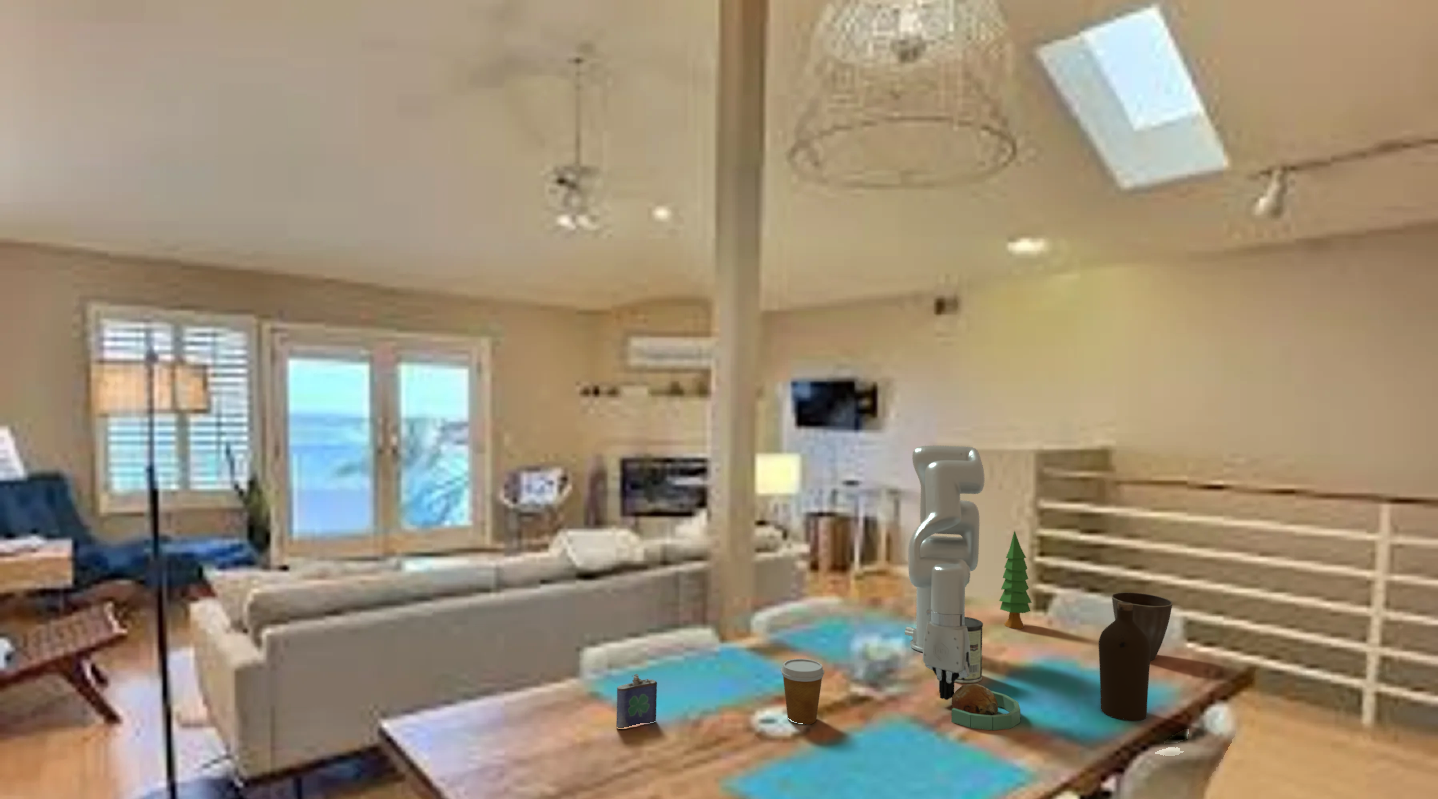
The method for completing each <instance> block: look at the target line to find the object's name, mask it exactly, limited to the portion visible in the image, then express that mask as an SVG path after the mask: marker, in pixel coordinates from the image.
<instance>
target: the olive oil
mask: <svg viewBox="0 0 1438 799" xmlns="http://www.w3.org/2000/svg"><path fill="white" fill-rule="evenodd" d="M1117 606H1118V608H1117V618H1116V620H1115V619H1114V620H1113V622H1111V623H1110V624H1109V625H1108V626H1106V627H1105V628H1104V629H1103V630H1102V631H1101V633H1100V636H1099V638H1098V659H1099V688H1100V689H1099V690H1100V691H1099V694H1100V698H1099V700H1100V710H1101V712H1102V713H1103V714H1104V715H1107V716H1109V717H1111V718H1114V719H1117V720H1123V721H1129V722H1130V721H1131V722H1132V721H1133V722H1134V721H1136V722H1137V721H1143V720H1145V719H1146V718H1147V715H1148V695H1149V692H1148V691H1149V683H1150V682H1149V681H1150V680H1149V679H1150V666H1151V660H1150V656H1151V647H1150V643H1149V640H1148V638H1147V636H1146V635H1145V634H1144V632H1143V631H1142V630H1141V629H1140V628H1139V627H1138V626H1137V625H1136V624H1135V622H1134V621H1133V610H1132V607H1133V604H1132V603H1129V602H1118V603H1117Z"/></svg>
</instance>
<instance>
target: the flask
mask: <svg viewBox="0 0 1438 799" xmlns="http://www.w3.org/2000/svg"><path fill="white" fill-rule="evenodd" d="M639 676H640V675H639V674H638V673H634V674H633V675H631V677H632V678H633V680H632V682H630V683H625V684H621V685H618V686H617V687H616V728H617V727H618V728H624V727H629V726H632V725H636V724H640V723H650V722H654V721H656V722H657V697H658V696H657V693H658V689H657V688H658V682H657V680H654V679H650V678H645V679H641V678H640V677H639Z"/></svg>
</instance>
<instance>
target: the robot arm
mask: <svg viewBox="0 0 1438 799" xmlns="http://www.w3.org/2000/svg"><path fill="white" fill-rule="evenodd" d="M911 460H912V465H913V468H914V471H915V473H916V475H917V477H918V480H919V484H920V503H919V504H920V505H919V506H920V507H919V509H920V512H919V520H920V524H919V525H918V526H917V527H916V528H915V530H914V531H913V533H912V535H911V537H910V540H909V544H908V578H909V581H910V583H911V585H913V586H914V587H915V588H916V613H915V616H916V617H915V618H916V620H915V621H916V623H915V628H914V627H910V626H906V627H905V630H904V635H905V636H908V637H910V636H911V637H912V639H911V640H910V642H909V645H910V648H912V649H913V650H915V651H917V652H922V661H923V663H924V666H925V667H926V668H927V669H930V670H932V671H933V673H934V674H935V676H936V680H938V682H939V683H938V693H939V698H940V699H943V700H945V701H948V700H950V699H952V696H953V694H954V693H955V682H954V681H955V680H957V679H958V678H966V677H968V676H969V675H970V674H969V669H968V668H969V667H970V642H969V635H968V630H967V626H964V624H965V617H966V616H965V615H966V614H965V613H966V610H965V607H966V587H967V585H968V584H969V583H970V581H971V572H972V571H974V570H976V568H977V567H978V562H979V554H980V553H979V551H980V550H979V547H980V513H979V508H978V507H977V505H976V503H974V502H973V501H970V500H964V499H963V500H961V494H964V495H965V494H966V495H967V494H970V495H976V494H977V495H978V494H980V493H982V491H983V489H984V487H985V471H984V470H985V469H984V465H983V461H982V460H981V456H980V453H979V451H978V449H976V448H975V447H973V446H962V445H961V446H959V445H958V446H956V445H953V446H951V445H950V446H949V445H921V446H917V447H916V448H914V449H913V451H912V459H911ZM935 534H937V535H935ZM941 534H942V535H941ZM944 535H945V536H944ZM946 535H958V536H946Z"/></svg>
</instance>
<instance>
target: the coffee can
mask: <svg viewBox="0 0 1438 799" xmlns="http://www.w3.org/2000/svg"><path fill="white" fill-rule="evenodd" d="M964 626H967V630H968V635H969V642H970V667H969V668H968V669H969V674H970V675H969V676H968V677H966V678H958V679H957V680H955V681H954V683H960V684H961V683H962V684H976V683H979V682H981V681H982V679H983V626H984V623H983V621H981V620H979V619H977V618H974V617H971V616H970V617H969V616H965V624H964Z"/></svg>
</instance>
